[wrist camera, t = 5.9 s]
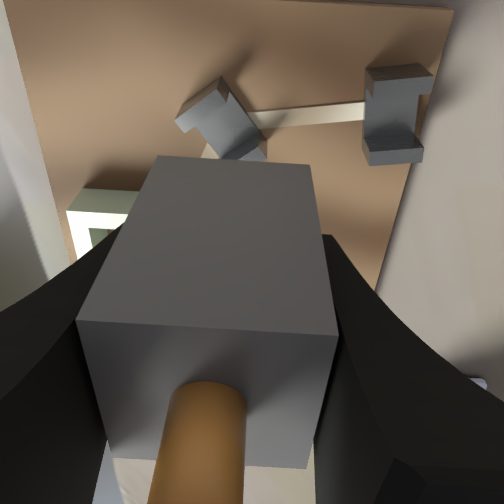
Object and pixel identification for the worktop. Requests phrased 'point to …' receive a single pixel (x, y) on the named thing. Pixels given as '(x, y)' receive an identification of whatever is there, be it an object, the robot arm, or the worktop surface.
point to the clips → (373, 128)
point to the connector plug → (213, 326)
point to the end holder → (97, 215)
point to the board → (240, 82)
